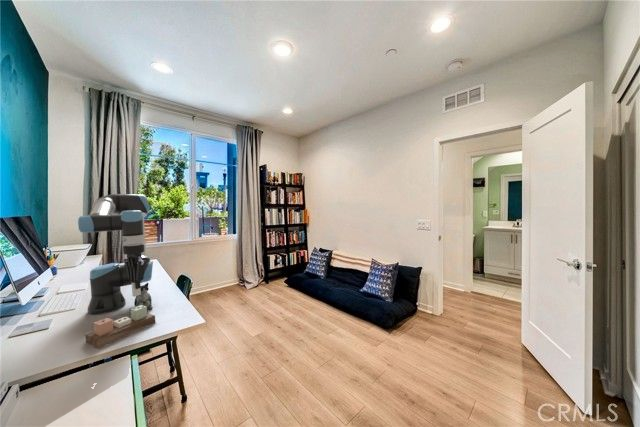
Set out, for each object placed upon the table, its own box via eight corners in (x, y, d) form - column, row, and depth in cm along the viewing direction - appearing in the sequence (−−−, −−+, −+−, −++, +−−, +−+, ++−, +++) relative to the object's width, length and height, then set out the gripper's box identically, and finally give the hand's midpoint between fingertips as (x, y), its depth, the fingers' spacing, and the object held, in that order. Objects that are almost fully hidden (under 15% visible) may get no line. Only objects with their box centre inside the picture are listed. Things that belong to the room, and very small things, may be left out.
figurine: (131, 318, 114) (129, 288, 114) (127, 311, 121) (125, 283, 120) (154, 310, 122) (153, 282, 121) (149, 305, 128) (147, 278, 127)
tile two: (114, 332, 101) (113, 320, 101) (126, 327, 105) (125, 316, 105) (119, 334, 99) (119, 322, 99) (131, 329, 103) (131, 318, 103)
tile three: (131, 319, 107) (130, 308, 107) (141, 315, 111) (141, 304, 111) (136, 321, 105) (136, 310, 105) (147, 317, 109) (146, 306, 109)
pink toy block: (94, 334, 95) (93, 322, 95) (107, 329, 99) (107, 317, 99) (100, 337, 93) (99, 324, 93) (113, 331, 97) (112, 319, 97)
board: (85, 342, 95) (85, 334, 95) (142, 318, 114) (142, 311, 114) (98, 348, 91) (97, 340, 90) (155, 322, 110) (154, 315, 110)
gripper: (115, 244, 105) (119, 296, 106) (132, 247, 99) (135, 300, 101) (134, 242, 112) (137, 290, 113) (151, 243, 106) (154, 294, 108)
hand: (136, 295), depth 107 cm, fingers closed
